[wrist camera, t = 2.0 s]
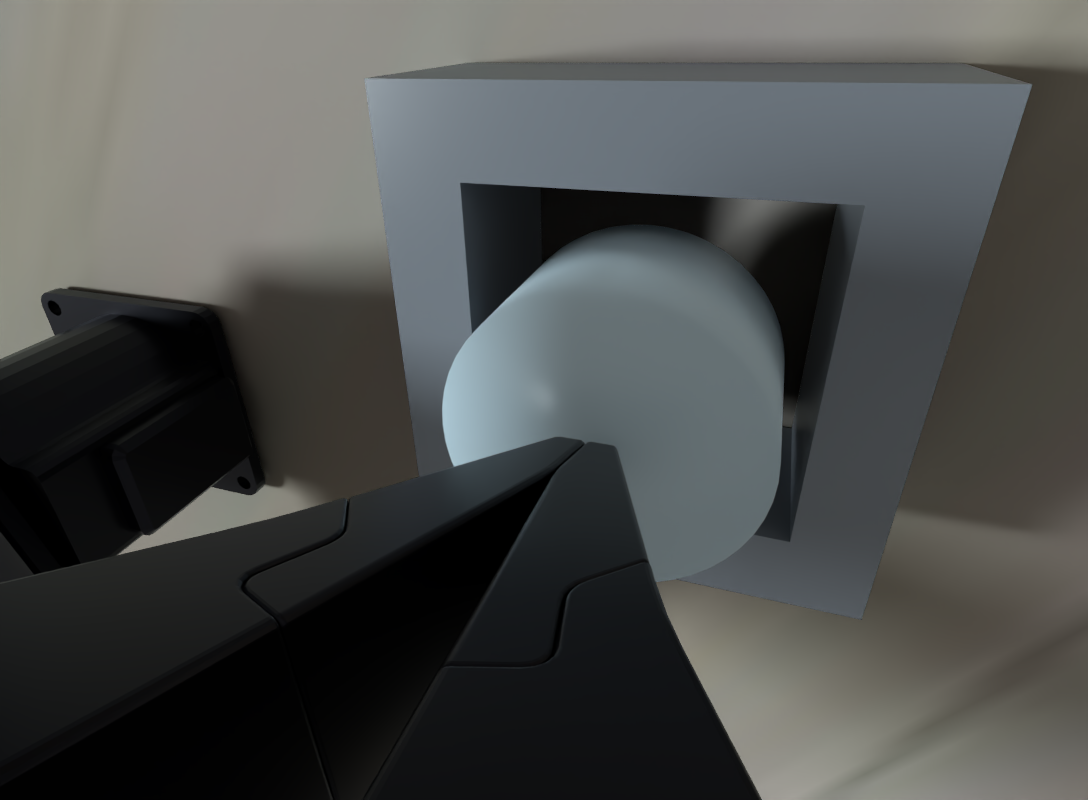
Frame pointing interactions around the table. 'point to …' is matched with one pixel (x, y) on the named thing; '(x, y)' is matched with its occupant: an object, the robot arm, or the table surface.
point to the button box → (730, 172)
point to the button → (638, 383)
